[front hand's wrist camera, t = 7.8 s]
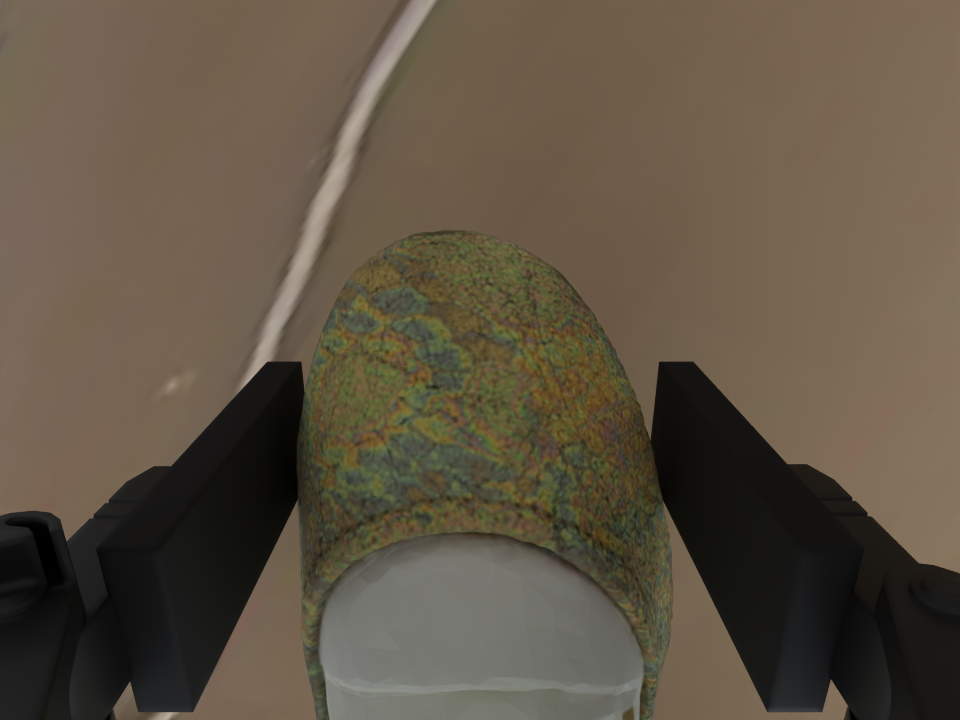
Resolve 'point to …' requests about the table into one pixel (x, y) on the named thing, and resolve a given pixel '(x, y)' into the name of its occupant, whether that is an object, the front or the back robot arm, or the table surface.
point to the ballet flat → (476, 498)
